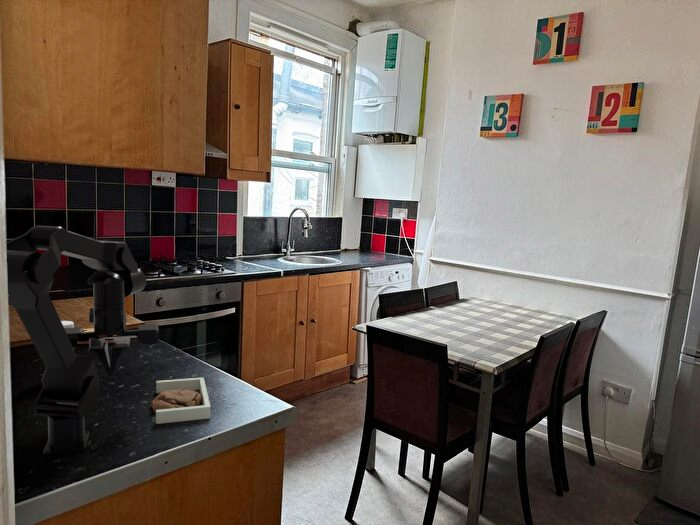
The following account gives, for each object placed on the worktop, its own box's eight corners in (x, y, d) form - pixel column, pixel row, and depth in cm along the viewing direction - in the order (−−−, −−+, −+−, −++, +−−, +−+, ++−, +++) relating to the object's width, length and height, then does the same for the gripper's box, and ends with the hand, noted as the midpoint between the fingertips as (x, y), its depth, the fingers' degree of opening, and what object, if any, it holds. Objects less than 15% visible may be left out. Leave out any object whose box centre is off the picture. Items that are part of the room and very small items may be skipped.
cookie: (211, 405, 111) (211, 392, 110) (168, 421, 102) (168, 407, 102) (184, 393, 117) (184, 380, 116) (141, 407, 108) (141, 394, 108)
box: (210, 418, 104) (210, 406, 104) (156, 423, 100) (156, 412, 100) (203, 387, 120) (203, 377, 119) (156, 391, 116) (156, 381, 116)
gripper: (158, 293, 113) (158, 359, 115) (63, 295, 106) (65, 366, 108) (158, 304, 102) (158, 377, 105) (53, 307, 96) (56, 385, 98)
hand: (110, 375), depth 104 cm, fingers closed
